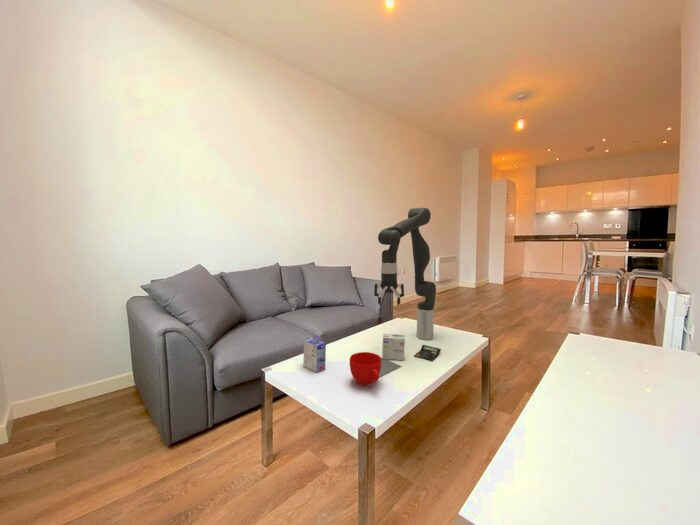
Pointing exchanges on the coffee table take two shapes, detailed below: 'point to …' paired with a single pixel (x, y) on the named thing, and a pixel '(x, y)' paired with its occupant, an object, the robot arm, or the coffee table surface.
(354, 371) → the ceramic cup
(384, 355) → the light bulb box
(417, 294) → the robot arm
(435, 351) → the calculator
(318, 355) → the ink cartridge box
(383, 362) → the mat
